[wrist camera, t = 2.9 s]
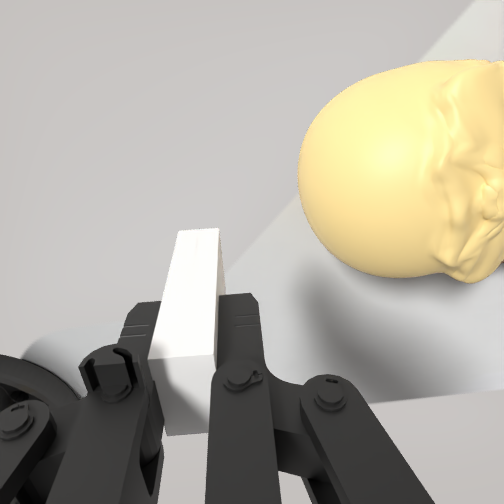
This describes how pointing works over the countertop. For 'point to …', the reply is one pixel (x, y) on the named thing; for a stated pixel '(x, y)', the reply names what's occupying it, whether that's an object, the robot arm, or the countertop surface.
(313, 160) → the sculpture
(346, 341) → the countertop surface
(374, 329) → the countertop surface
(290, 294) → the countertop surface
